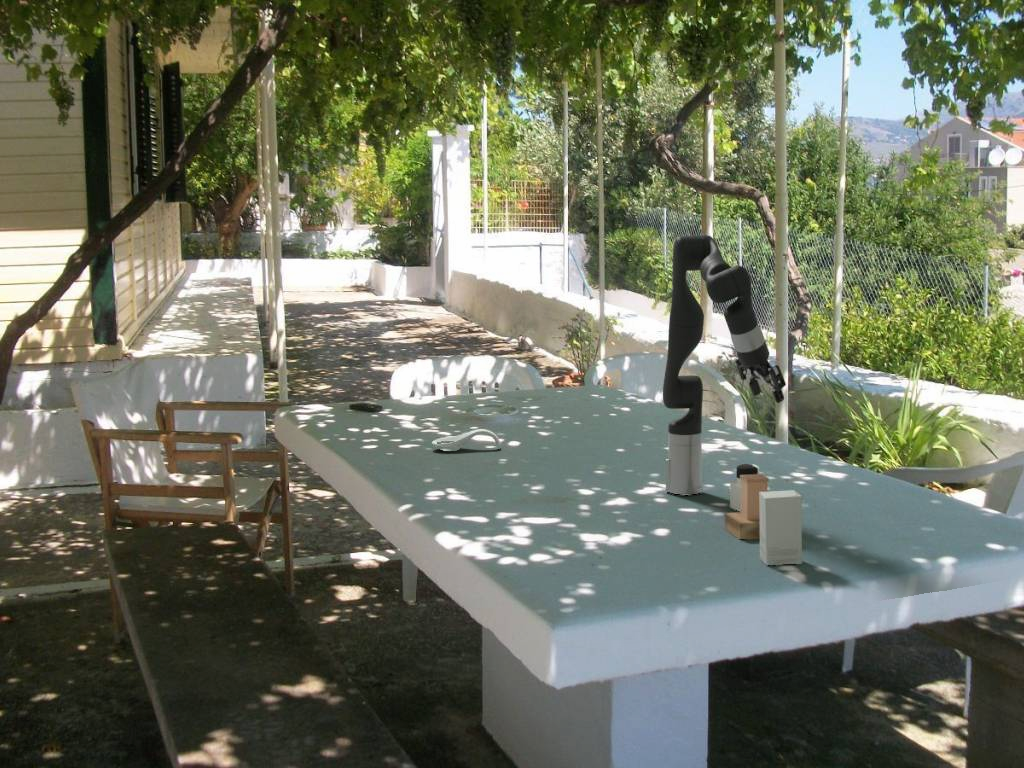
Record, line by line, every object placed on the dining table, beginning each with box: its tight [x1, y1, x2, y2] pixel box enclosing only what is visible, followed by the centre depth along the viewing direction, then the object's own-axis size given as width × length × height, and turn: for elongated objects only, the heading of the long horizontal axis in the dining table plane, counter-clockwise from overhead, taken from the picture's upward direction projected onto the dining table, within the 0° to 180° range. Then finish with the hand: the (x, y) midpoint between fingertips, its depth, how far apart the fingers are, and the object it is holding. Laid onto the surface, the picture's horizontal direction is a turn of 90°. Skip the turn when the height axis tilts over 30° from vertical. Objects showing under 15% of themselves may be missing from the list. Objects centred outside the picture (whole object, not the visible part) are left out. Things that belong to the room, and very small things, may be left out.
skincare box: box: [759, 489, 803, 567], centre depth 263 cm, size 8×7×16 cm
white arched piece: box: [431, 428, 501, 447], centre depth 412 cm, size 24×12×7 cm, turn 92°
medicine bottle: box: [729, 463, 761, 512], centre depth 314 cm, size 7×7×12 cm
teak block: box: [724, 511, 760, 540], centre depth 290 cm, size 11×11×4 cm
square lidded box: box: [740, 473, 770, 520], centre depth 289 cm, size 5×5×10 cm
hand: (768, 397), depth 297 cm, fingers open, 8 cm apart
